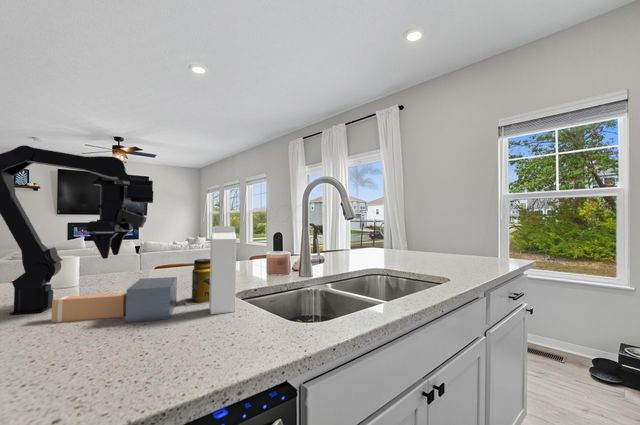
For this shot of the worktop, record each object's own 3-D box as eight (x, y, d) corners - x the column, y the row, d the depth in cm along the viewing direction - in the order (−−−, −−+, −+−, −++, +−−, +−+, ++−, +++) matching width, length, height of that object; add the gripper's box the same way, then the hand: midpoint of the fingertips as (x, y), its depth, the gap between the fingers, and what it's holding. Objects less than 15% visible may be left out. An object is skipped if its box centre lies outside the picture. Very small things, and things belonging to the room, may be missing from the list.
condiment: (217, 301, 88) (218, 260, 89) (186, 305, 84) (187, 262, 84) (211, 296, 94) (212, 257, 95) (181, 300, 90) (182, 259, 90)
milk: (235, 312, 78) (237, 226, 79) (210, 314, 76) (212, 226, 76) (232, 306, 84) (233, 226, 84) (208, 308, 81) (210, 225, 82)
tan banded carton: (51, 322, 69) (52, 299, 69) (57, 318, 72) (58, 296, 72) (122, 316, 74) (123, 295, 74) (126, 312, 77) (126, 292, 77)
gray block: (122, 323, 69) (123, 289, 69) (137, 306, 82) (138, 278, 82) (169, 319, 72) (170, 287, 72) (176, 303, 85) (176, 277, 86)
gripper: (136, 200, 81) (135, 259, 80) (150, 204, 98) (149, 252, 98) (86, 199, 77) (84, 261, 77) (110, 203, 95) (108, 253, 94)
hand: (110, 256), depth 86 cm, fingers open, 9 cm apart
